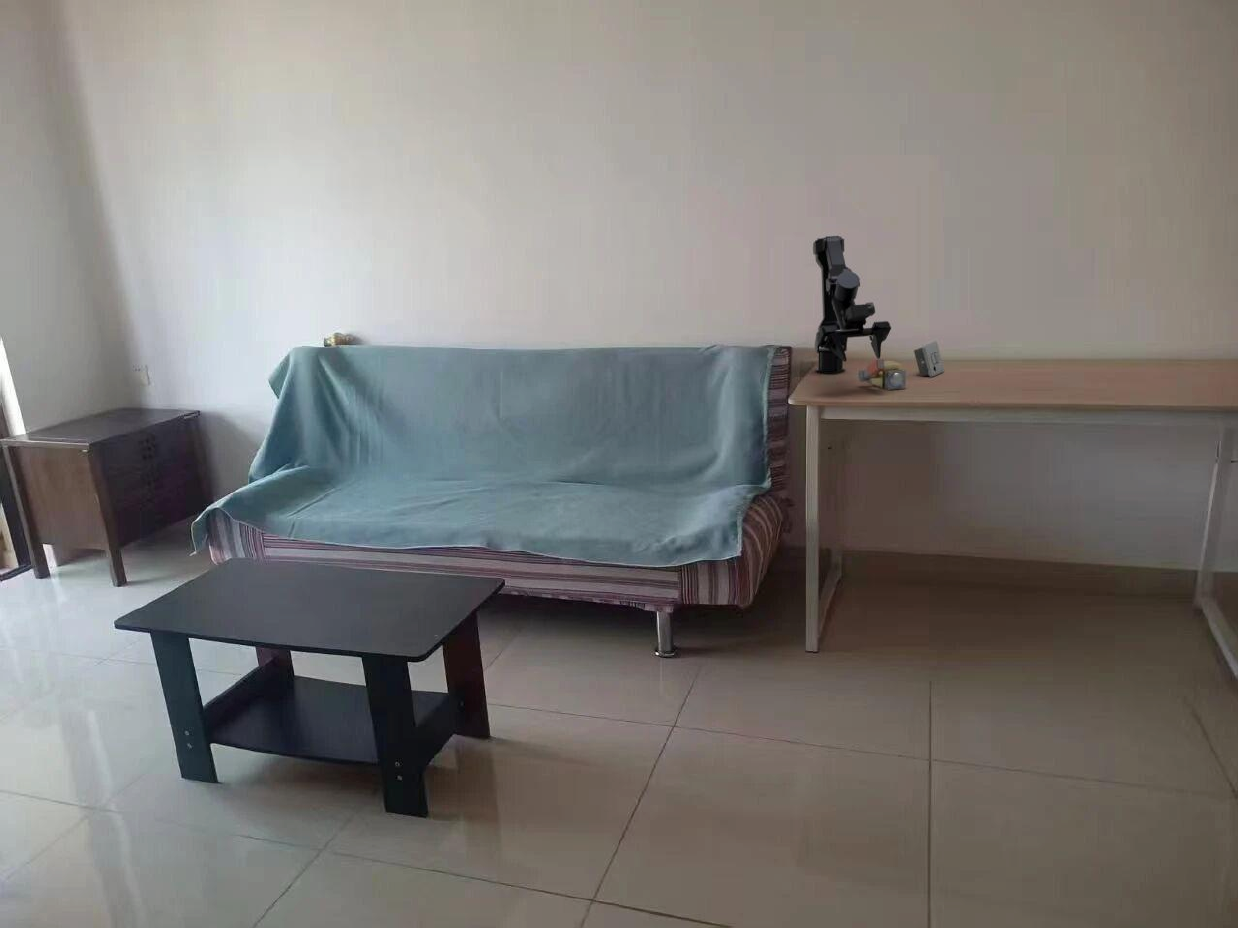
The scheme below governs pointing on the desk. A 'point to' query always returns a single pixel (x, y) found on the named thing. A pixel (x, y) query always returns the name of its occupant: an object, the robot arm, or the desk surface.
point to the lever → (871, 370)
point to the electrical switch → (929, 359)
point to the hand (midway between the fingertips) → (862, 359)
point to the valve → (890, 376)
